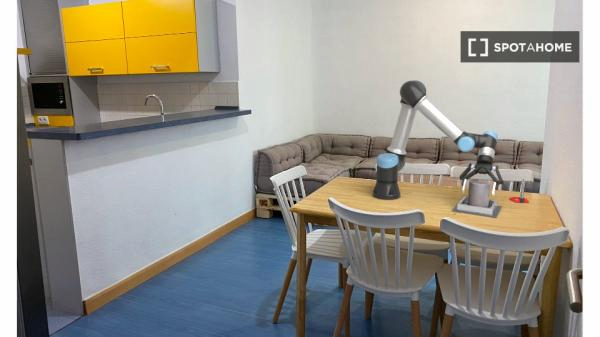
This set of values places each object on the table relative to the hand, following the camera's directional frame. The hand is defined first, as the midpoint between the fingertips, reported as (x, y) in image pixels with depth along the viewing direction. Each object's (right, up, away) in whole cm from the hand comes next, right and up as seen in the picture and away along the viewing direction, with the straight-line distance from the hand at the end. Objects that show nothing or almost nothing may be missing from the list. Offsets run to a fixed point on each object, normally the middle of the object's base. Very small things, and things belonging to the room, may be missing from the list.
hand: (477, 193), depth 200 cm
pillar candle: (+1, -8, +3) cm, 9 cm away
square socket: (+1, -8, +4) cm, 9 cm away
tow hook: (+29, -5, +17) cm, 34 cm away
